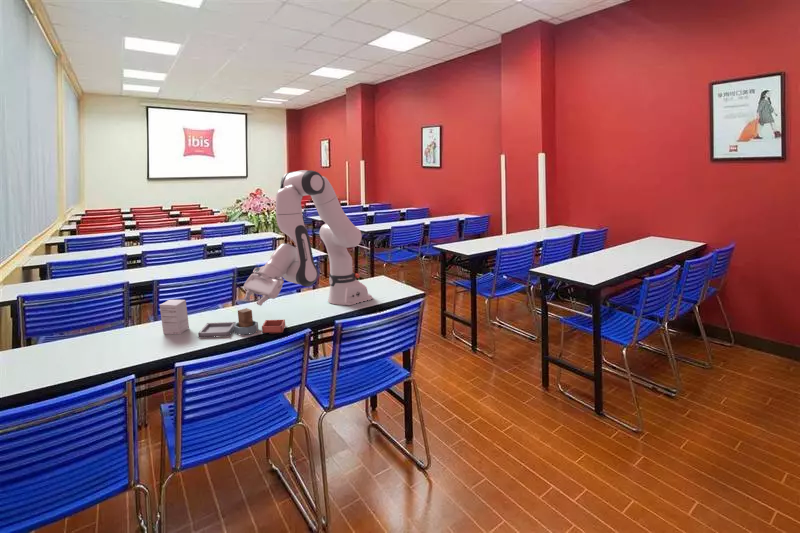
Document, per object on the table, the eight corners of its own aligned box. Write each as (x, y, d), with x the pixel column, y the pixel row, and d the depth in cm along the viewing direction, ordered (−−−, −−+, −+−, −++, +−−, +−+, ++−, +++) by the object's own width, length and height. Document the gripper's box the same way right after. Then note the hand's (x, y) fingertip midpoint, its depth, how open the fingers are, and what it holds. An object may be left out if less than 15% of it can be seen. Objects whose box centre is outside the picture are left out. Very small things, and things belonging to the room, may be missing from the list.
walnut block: (248, 328, 191) (246, 308, 189) (253, 330, 189) (251, 310, 187) (239, 331, 188) (237, 310, 186) (244, 333, 186) (243, 312, 184)
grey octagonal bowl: (249, 325, 195) (249, 319, 194) (261, 330, 189) (261, 323, 189) (231, 331, 188) (230, 324, 188) (242, 336, 183) (242, 329, 182)
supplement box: (173, 327, 193) (169, 299, 190) (189, 328, 192) (186, 299, 189) (162, 334, 186) (158, 304, 183) (179, 334, 185) (176, 305, 182)
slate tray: (236, 326, 194) (235, 322, 193) (228, 336, 183) (228, 332, 182) (207, 327, 193) (207, 322, 192) (198, 337, 182) (198, 333, 181)
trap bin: (285, 326, 194) (284, 319, 193) (282, 333, 186) (281, 326, 186) (266, 326, 193) (265, 320, 193) (262, 333, 186) (261, 326, 185)
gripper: (290, 283, 190) (271, 311, 184) (261, 276, 202) (243, 302, 197) (280, 274, 185) (261, 303, 180) (252, 267, 198) (233, 294, 193)
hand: (252, 302), depth 189 cm, fingers open, 8 cm apart
